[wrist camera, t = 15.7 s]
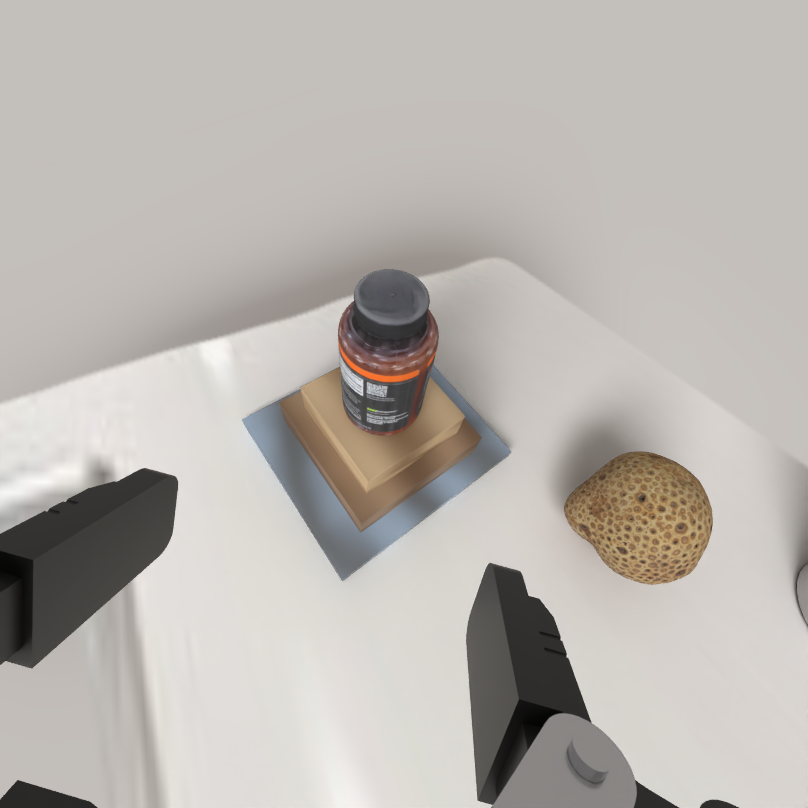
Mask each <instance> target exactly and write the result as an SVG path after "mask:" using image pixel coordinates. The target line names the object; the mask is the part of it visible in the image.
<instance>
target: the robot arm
mask: <svg viewBox="0 0 808 808" xmlns="http://www.w3.org/2000/svg"><path fill="white" fill-rule="evenodd" d="M177 491H178V480H177V478H176V477H175V476H172V475H169V474H165V473H161V472H158V471H154V470H150V469H147V468H143V469H140V470H138V471H136V472H134V473H132V474H131V475H129V476H127V477H125V478H123V479H121V480H120V481H118V482H115V481H114V482H110V483H107V484H103V485H99V486H96V487H92V488H88V489H86V490H85V491H83V492H81V493H79V494H77V495H75V496H73V497H71V498H69V499H67V501H66V502H61V503H59V504H57V505H55V506H53V507H52V508H50V509H49V511H48V512H46V511H44V512H42V513H40V514H38V515H36V516H34V517H32V518H30V519H28V520H26V521H24V522H22V523H20V524H19V525H17V526H15V527H13V528H11V529H9V530H7V531H5V532H3V533H1V534H0V665H1V664H2V663H3V662H4V661H8V662H11V663H15V664H18V665H22V666H25V667H29V668H33V667H34V666H35V665H36V664H38V663H39V662H40V661H41V660H42V659H43V658H44V657H45V656H47V655H48V654H49V653H50V652H51V651H52V650H53V649H55V648H56V647H57V646H58V645H59V644H60V643H61V642H62V641H64V640H65V639H66V638H67V637H68V636H69V635H70V634H72V633H73V632H74V631H75V630H76V629H77V628H78V627H79V626H81V625H82V624H83V623H84V622H85V621H86V620H87V619H89V618H90V617H91V616H92V615H93V614H94V613H95V612H96V611H98V610H99V609H100V608H101V607H102V606H103V605H104V604H106V603H107V602H108V601H109V600H110V599H111V598H112V597H113V596H115V595H116V594H117V593H118V592H119V591H120V590H121V589H122V588H124V587H125V586H126V585H127V584H128V583H129V582H130V581H132V580H133V579H134V578H135V577H136V576H137V575H138V574H139V573H141V572H142V571H143V570H144V569H145V568H146V567H147V566H149V565H150V564H151V563H152V562H153V561H154V560H155V559H156V558H158V557H159V556H160V555H161V554H162V552H163V551H164V550H165V548H166V547H167V545H168V543H169V541H170V539H171V536H172V532H173V526H174V517H175V508H176V500H177ZM797 595H798V601H799V605H800V608H801V611H802V614H803V616H804V619H805V621H806V622H807V624H808V564H806V565H805V566H804V567H803V569H802V570H801V571H800V574H799V577H798V581H797ZM560 638H561V636H560V634H559V631H558V628H557V625H556V623H555V620H554V617H553V616H552V615H551V613H550V612H549V611H548V610H547V608H546V607H545V606H544V604H543V603H542V602H541V600H540V599H538V598H534V597H531V596H528V593H527V589H526V586H525V583H524V579H523V576H522V573H521V572H520V571H518V570H514V569H510V568H507V567H503V566H499V565H496V564H492V563H489V564H488V566H487V567H486V570H485V572H484V575H483V578H482V581H481V584H480V587H479V590H478V593H477V596H476V598H475V601H474V604H473V607H472V610H471V613H470V617H469V621H468V626H467V635H466V645H467V659H468V673H469V687H470V701H471V715H472V729H473V743H474V757H475V771H476V784H477V798H478V801H481V802H484V803H488V804H491V805H493V806H492V807H491V808H679V807H677V806H675V805H674V804H672V803H670V802H669V801H667V800H665V799H664V798H662V797H660V796H659V795H657V794H655V793H654V792H652V791H650V790H649V789H647V788H646V787H644V786H643V785H641V784H640V783H638V782H637V781H636V780H635V778H634V775H633V773H632V770H631V768H630V766H629V764H628V762H627V760H626V758H625V757H624V755H623V754H622V752H621V751H620V750H619V748H618V747H617V746H616V744H615V743H614V742H613V741H612V740H611V739H610V738H609V737H608V736H607V735H606V734H605V733H604V732H603V731H602V730H600V729H599V728H598V727H596V726H595V725H594V724H592V723H591V720H590V717H589V715H588V712H587V709H586V706H585V703H584V701H583V698H582V695H581V692H580V690H579V687H578V684H577V681H576V678H575V676H574V673H573V670H572V667H571V664H570V662H569V659H568V658H566V654H567V653H566V650H565V648H564V645H563V642H562V641H560ZM0 808H97V807H96V806H95V805H94V804H92V803H91V802H89V801H86V800H82V799H79V798H76V797H72V796H68V795H66V794H62V793H59V792H56V791H52V790H49V789H46V788H42V787H39V786H36V785H32V784H29V783H26V782H22V781H19V780H17V782H16V783H15V784H14V785H13V786H12V787H11V788H10V789H9V790H8V791H7V793H6V794H5V795H4V796H3V797H2V798H1V800H0ZM700 808H738V807H736V806H734V805H732V804H730V803H727V802H724V801H720V800H709V801H706V802H704V803H703V804H702V805H701V807H700Z"/></svg>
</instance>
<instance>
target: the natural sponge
mask: <svg viewBox="0 0 808 808" xmlns="http://www.w3.org/2000/svg"><path fill="white" fill-rule="evenodd" d="M564 511H565V516H566V518H567V520H568V523H569V524H570V526H571V527H572V528H573V530H574V531H575V532H576V533H578V534H579V535H580V536H581V537H582V538H584V539H586V540H587V541H588V542H590V543H591V544H592V545H593V546H594V548H595V549H596V551H597V553H598V554H599V556H600V557H601V559H602V560H603V561H604V562H605V564H606V565H607V566H609V567H610V568H611V569H612V570H613V571H614V572H616V573H618V574H620V575H622V576H623V577H625V578H628V579H631V580H634V581H637V582H640V583H646V584H651V585H653V584H660V583H668V582H672V581H675V580H677V579H680V578H682V577H684V576H686V575H688V574H690V573H691V572H692V571H693V570H694V568H695V567H696V566H697V563H698V561H699V560H700V558H701V556H702V554H703V552H704V550H705V549H706V547H707V545H708V542H709V538H710V535H711V531H712V525H713V518H712V509H711V506H710V502H709V499H708V497H707V494H706V492H705V490H704V488H703V486H702V485H701V483H700V482H699V480H698V479H697V478H696V477H695V476H694V475H693V474H692V473H691V472H690V471H688V470H687V469H686V468H684V467H683V466H681V465H680V464H678V463H677V462H675V461H672V460H670V459H668V458H665V457H663V456H660V455H657V454H654V453H649V452H629V453H626V454H622V455H620V456H618V457H616V458H615V459H613V460H611V461H610V462H609V463H607V464H606V465H605V466H603V467H602V468H601V469H600V470H599V471H598V472H596V473H595V474H594V475H593V476H592V477H591V478H590V479H588V480H587V481H586V482H584V483H583V484H582V485H580V486H579V487H578V488H577V489H575V490H574V491H573V492H572V494H571V495H570V496H569V497H568V499H567V500H566V503H565V506H564Z"/></svg>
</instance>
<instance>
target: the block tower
mask: <svg viewBox="0 0 808 808" xmlns="http://www.w3.org/2000/svg"><path fill="white" fill-rule="evenodd" d="M341 385H342V384H341V371H340V367H339V368H337V369H335V370H333V371H331V372H329V373H327V374H325V375H323V376H321V377H319V378H318V379H316V380H314V381H312V382H310V383H308V384H306V385H304V386H302V387H300V388H301V389H300V390H298V391H296V392H294V393H292V394H290V395H288V396H286V397H284V398H283V399H281V400H279V401H277V402H275V403H273V404H271V405H269V406H267V407H265V408H263V409H261V410H260V411H258V412H256V413H254V414H252V415H250V416H248V417H246V418H244V419H242V421H243V423H244V425H245V427H246V428H247V430H248V432H249V433H250V435H251V436H252V438H253V440H254V441H255V443H256V444H257V446H258V448H259V449H260V451H261V452H262V454H263V456H264V457H265V459H266V460H267V462H268V463H269V465H270V467H271V468H272V470H273V471H274V473H275V475H276V476H277V478H278V479H279V481H280V483H281V484H282V486H283V487H284V489H285V491H286V492H287V494H288V495H289V497H290V499H291V500H292V502H293V503H294V505H295V507H296V508H297V510H298V511H299V513H300V515H301V516H302V518H303V519H304V521H305V522H306V524H307V526H308V527H309V529H310V530H311V532H312V534H313V535H314V537H315V538H316V540H317V542H318V543H319V545H320V546H321V548H322V550H323V551H324V553H325V554H326V556H327V558H328V559H329V561H330V562H331V564H332V566H333V567H334V569H335V570H336V572H337V574H338V575H339V577H340V578H341V580H342V581H343V580H345V579H346V578H347V577H349V576H350V575H351V574H353V573H354V572H355V571H357V570H358V569H359V568H361V567H362V566H363V565H364V564H366V563H367V562H368V561H370V560H371V559H372V558H374V557H375V556H376V555H378V554H379V553H380V552H382V551H383V550H384V549H386V548H387V547H388V546H390V545H391V544H392V543H394V542H395V541H396V540H398V539H399V538H400V537H402V536H403V535H404V534H405V533H407V532H408V531H409V530H411V529H412V528H413V527H415V526H416V525H417V524H419V523H420V522H421V521H423V520H424V519H425V518H427V517H428V516H429V515H431V514H432V513H433V512H435V511H436V510H437V509H439V508H440V507H441V506H443V505H444V504H445V503H446V502H448V501H449V500H450V499H452V498H453V497H454V496H456V495H457V494H458V493H460V492H461V491H462V490H464V489H465V488H466V487H468V486H469V485H470V484H472V483H473V482H474V481H476V480H477V479H478V478H480V477H481V476H482V475H484V474H485V473H486V472H488V471H489V470H490V469H491V468H493V467H494V466H495V465H497V464H498V463H499V462H501V461H502V460H503V459H505V458H506V457H507V456H508V455H509V454H510V453H511V451H510V449H509V448H508V447H507V446H506V445H505V444H504V443H503V442H502V441H501V440H500V438H499V437H498V436H497V435H496V434H495V433H494V432H493V431H492V430H491V429H490V427H489V426H488V425H487V424H486V423H485V422H484V421H483V420H482V419H481V417H480V416H479V415H478V414H477V413H476V412H475V411H474V410H473V409H472V408H471V406H470V405H469V404H468V403H467V402H466V401H465V400H464V399H463V398H462V397H461V395H460V394H459V393H458V392H457V391H456V390H455V389H454V388H453V387H452V386H451V384H450V383H449V382H448V381H447V380H446V379H445V378H444V377H443V376H442V375H441V373H440V372H439V371H438V370H437V369H436V368H435V367H434V366H433V365H432V369H431V373H430V377H429V381H428V384H427V388H426V392H425V396H424V399H423V403H422V407H421V410H420V412H419V415H418V417H417V419H416V420H415V421H414V422H413V424H411V425H410V426H409V427H408V428H406V429H405V430H403V431H401V432H399V433H397V434H393V435H386V436H380V435H373V434H370V433H367V432H365V431H362V430H360V429H359V428H358V427H356V426H355V425H354V424H353V423H352V422H351V421H350V419H349V418H348V416H347V415H346V412H345V410H344V406H343V400H342V386H341Z"/></svg>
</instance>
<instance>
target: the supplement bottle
mask: <svg viewBox="0 0 808 808" xmlns="http://www.w3.org/2000/svg"><path fill="white" fill-rule="evenodd" d="M429 302H430V300H429V294H428V291H427V289H426V287H425V286H424V285H423V283H422V282H421V281H420V280H419V279H417V278H416V277H414V276H413V275H411V274H409V273H406V272H403V271H399V270H393V269H392V270H391V269H384V270H379V271H375V272H372V273H370V274H368V275H366V276H365V277H364V278H363V279H361V280H360V281H359V283H358V284H357V286H356V288H355V292H354V301H353V302H352V303H351V304H350V305H349V306H348V307H347V308H346V310H345V312H344V313H343V314H342V317H341V319H340V323H339V329H338V340H339V357H340V371H341V384H342V385H341V386H342V400H343V406H344V410H345V412H346V415H347V416H348V418H349V419H350V421H351V422H352V423H353V424H354V425H355V426H356V427H358V428H359V429H360V430H362V431H365V432H367V433H370V434H373V435H380V436H386V435H393V434H397V433H399V432H401V431H403V430H405V429H406V428H408V427H409V426H410V425H411V424H413V422H414V421H415V420H416V419H417V417H418V415H419V412H420V410H421V407H422V403H423V399H424V396H425V392H426V388H427V384H428V381H429V377H430V373H431V369H432V365H433V362H434V358H435V353H436V350H437V345H438V337H439V335H438V327H437V324H436V321H435V319H434V317H433V315H432V314H431V312H430V310H429V309H428V307H429Z"/></svg>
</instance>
